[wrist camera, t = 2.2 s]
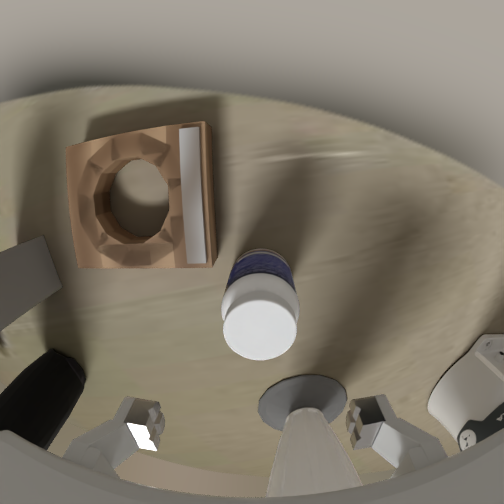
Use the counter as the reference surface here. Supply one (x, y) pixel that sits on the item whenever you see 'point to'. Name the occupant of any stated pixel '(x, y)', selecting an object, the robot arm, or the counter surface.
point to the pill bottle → (260, 306)
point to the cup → (307, 437)
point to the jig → (179, 189)
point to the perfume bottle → (25, 279)
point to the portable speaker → (42, 398)
